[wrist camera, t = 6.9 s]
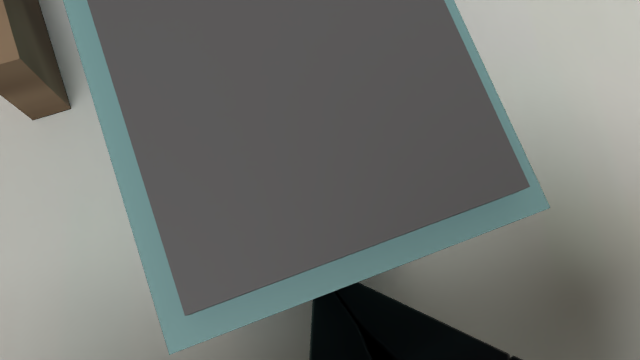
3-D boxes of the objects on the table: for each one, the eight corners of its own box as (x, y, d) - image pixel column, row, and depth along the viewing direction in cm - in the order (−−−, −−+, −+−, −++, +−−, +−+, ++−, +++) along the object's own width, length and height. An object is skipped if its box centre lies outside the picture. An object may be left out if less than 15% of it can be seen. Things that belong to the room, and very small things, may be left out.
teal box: (401, 256, 17) (565, 203, 7) (224, 324, 16) (163, 358, 6) (260, -95, 19) (254, -454, 10) (101, -57, 18) (-68, -420, 9)
